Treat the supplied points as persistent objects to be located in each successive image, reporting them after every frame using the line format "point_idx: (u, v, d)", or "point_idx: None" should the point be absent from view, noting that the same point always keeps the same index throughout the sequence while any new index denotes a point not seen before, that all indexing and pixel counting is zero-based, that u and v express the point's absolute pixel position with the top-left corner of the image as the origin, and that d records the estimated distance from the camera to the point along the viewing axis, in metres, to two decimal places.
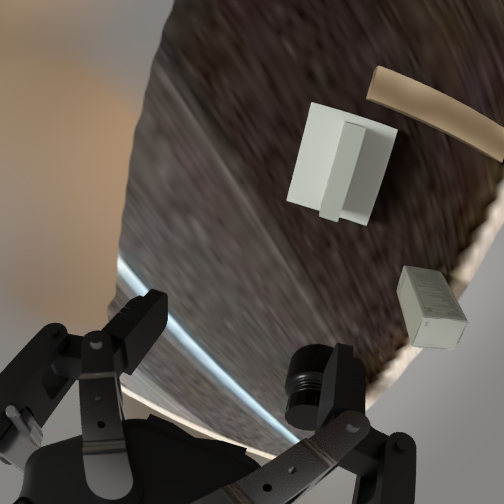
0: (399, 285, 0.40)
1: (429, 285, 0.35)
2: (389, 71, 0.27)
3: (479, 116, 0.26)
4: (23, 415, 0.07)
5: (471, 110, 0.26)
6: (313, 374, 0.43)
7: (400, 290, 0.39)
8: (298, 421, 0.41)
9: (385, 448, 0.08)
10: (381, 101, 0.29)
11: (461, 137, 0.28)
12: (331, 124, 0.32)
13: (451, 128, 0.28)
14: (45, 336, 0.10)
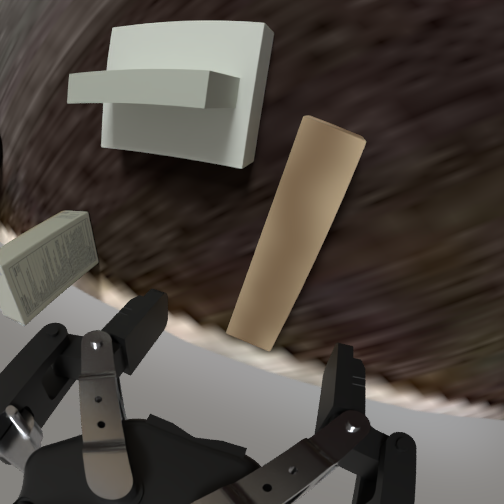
0: (66, 213, 0.29)
1: (62, 255, 0.26)
2: (355, 160, 0.18)
3: (287, 306, 0.24)
4: (23, 415, 0.07)
5: (294, 295, 0.23)
6: None
7: (58, 217, 0.28)
8: None
9: (385, 448, 0.08)
10: (298, 138, 0.18)
11: (250, 273, 0.23)
12: (230, 59, 0.18)
13: (261, 258, 0.22)
14: (45, 336, 0.10)
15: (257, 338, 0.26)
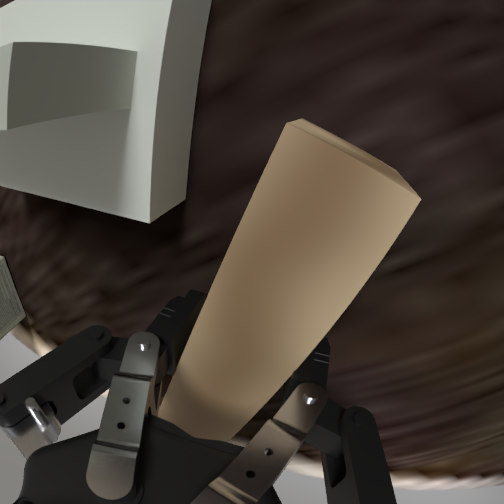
0: None
1: None
2: (390, 235, 0.08)
3: (232, 427, 0.14)
4: (44, 409, 0.08)
5: (244, 419, 0.13)
6: None
7: None
8: None
9: (343, 425, 0.09)
10: (269, 172, 0.08)
11: (174, 382, 0.13)
12: (123, 20, 0.08)
13: (191, 369, 0.12)
14: (87, 337, 0.10)
15: None
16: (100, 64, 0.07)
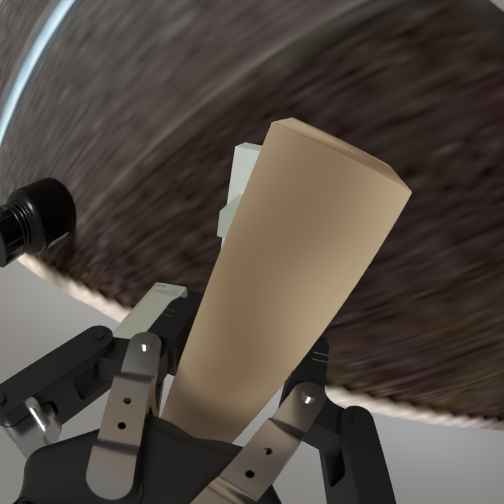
0: (163, 286, 0.37)
1: None
2: (382, 230, 0.08)
3: (234, 428, 0.14)
4: (45, 409, 0.08)
5: (246, 420, 0.13)
6: (37, 222, 0.31)
7: (158, 292, 0.36)
8: None
9: (342, 425, 0.09)
10: (257, 171, 0.08)
11: (176, 385, 0.13)
12: None
13: (191, 371, 0.12)
14: (89, 337, 0.10)
15: None
16: None
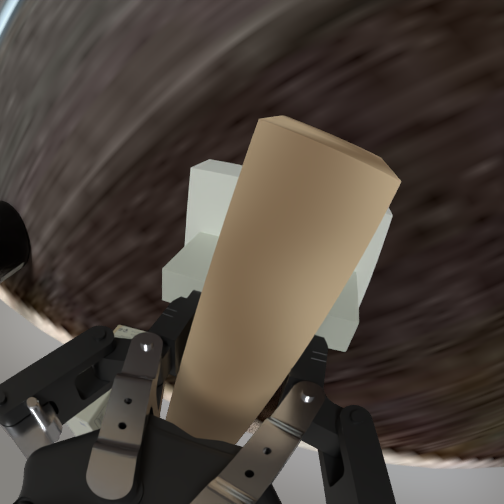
0: (125, 331, 0.30)
1: None
2: (373, 221, 0.08)
3: (239, 427, 0.14)
4: (45, 409, 0.08)
5: (249, 418, 0.13)
6: None
7: None
8: None
9: (341, 424, 0.09)
10: (247, 168, 0.08)
11: (179, 384, 0.13)
12: None
13: (193, 370, 0.13)
14: (90, 337, 0.10)
15: None
16: None
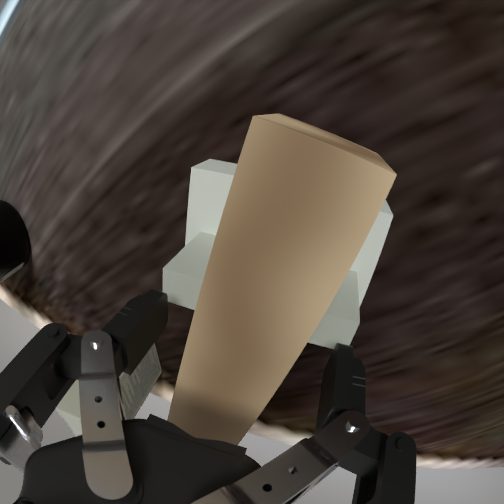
0: None
1: (134, 384, 0.27)
2: (370, 215, 0.08)
3: (241, 427, 0.14)
4: (23, 415, 0.07)
5: (251, 418, 0.13)
6: None
7: None
8: None
9: (385, 448, 0.08)
10: (242, 165, 0.08)
11: (179, 385, 0.13)
12: None
13: (194, 370, 0.13)
14: (45, 336, 0.10)
15: None
16: None
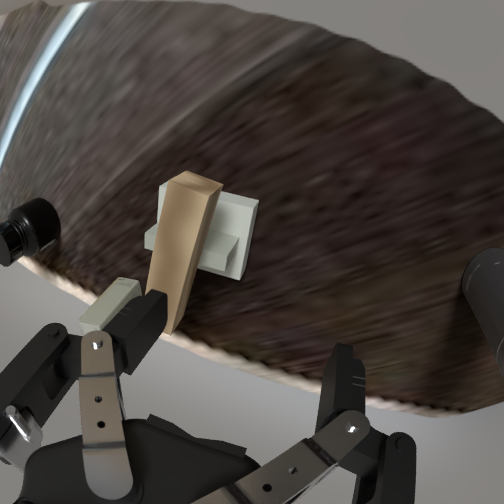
0: (122, 280, 0.49)
1: None
2: (202, 209, 0.28)
3: (175, 304, 0.33)
4: (23, 415, 0.07)
5: (178, 296, 0.33)
6: (32, 233, 0.42)
7: (118, 284, 0.48)
8: None
9: (385, 448, 0.08)
10: (166, 194, 0.28)
11: (149, 280, 0.33)
12: (234, 226, 0.38)
13: (154, 271, 0.32)
14: (45, 336, 0.10)
15: None
16: (234, 247, 0.37)
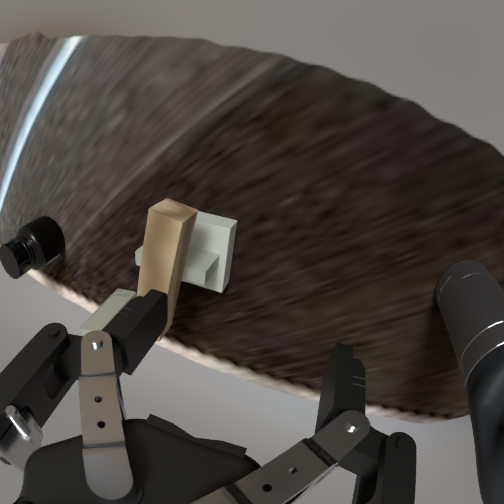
0: (121, 291, 0.54)
1: None
2: (178, 233, 0.32)
3: None
4: (23, 415, 0.07)
5: None
6: (39, 249, 0.48)
7: (117, 295, 0.52)
8: (3, 255, 0.44)
9: (385, 448, 0.08)
10: (148, 221, 0.32)
11: (138, 294, 0.37)
12: (214, 244, 0.42)
13: (142, 285, 0.36)
14: (45, 336, 0.10)
15: None
16: (214, 264, 0.41)
